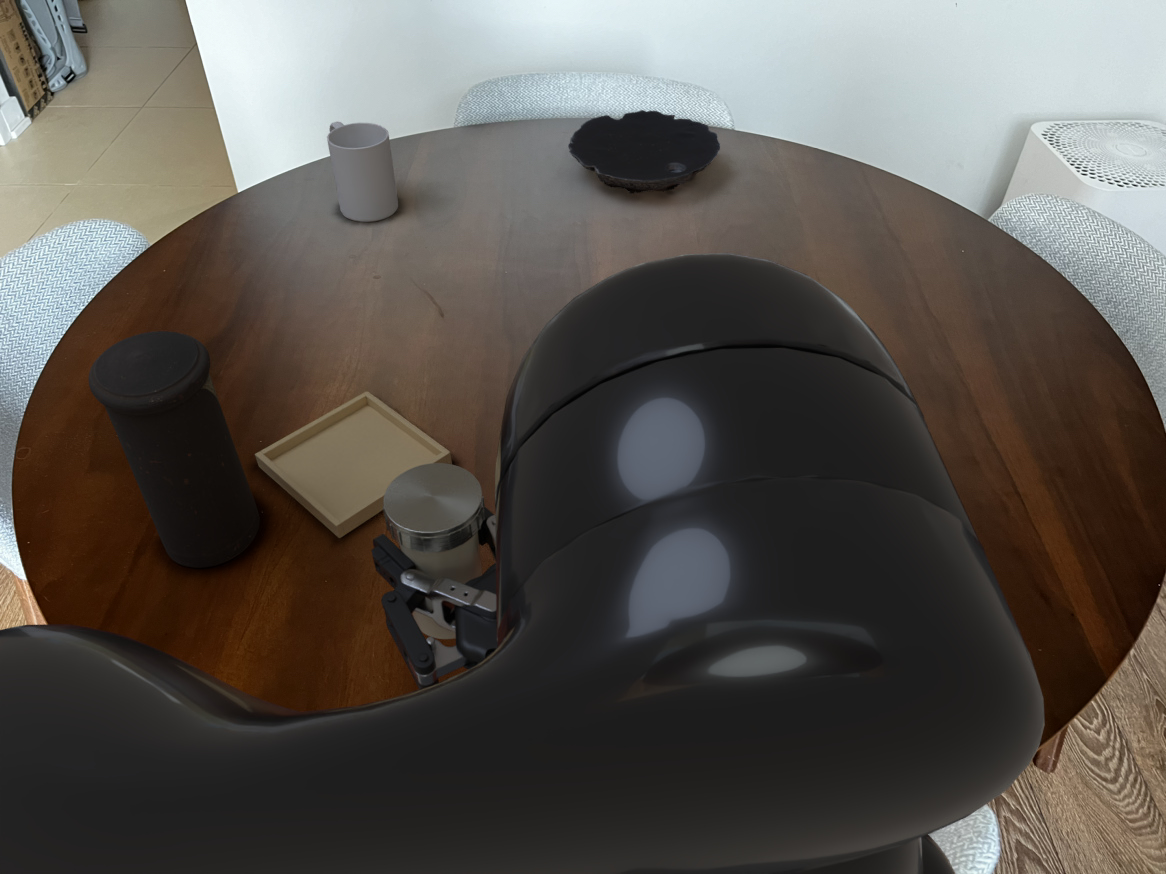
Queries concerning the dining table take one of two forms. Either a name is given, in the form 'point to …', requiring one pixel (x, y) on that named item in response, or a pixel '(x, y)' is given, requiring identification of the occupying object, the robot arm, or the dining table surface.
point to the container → (178, 445)
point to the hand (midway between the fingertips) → (415, 524)
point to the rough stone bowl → (644, 150)
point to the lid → (433, 507)
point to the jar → (446, 575)
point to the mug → (363, 171)
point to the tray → (348, 461)
